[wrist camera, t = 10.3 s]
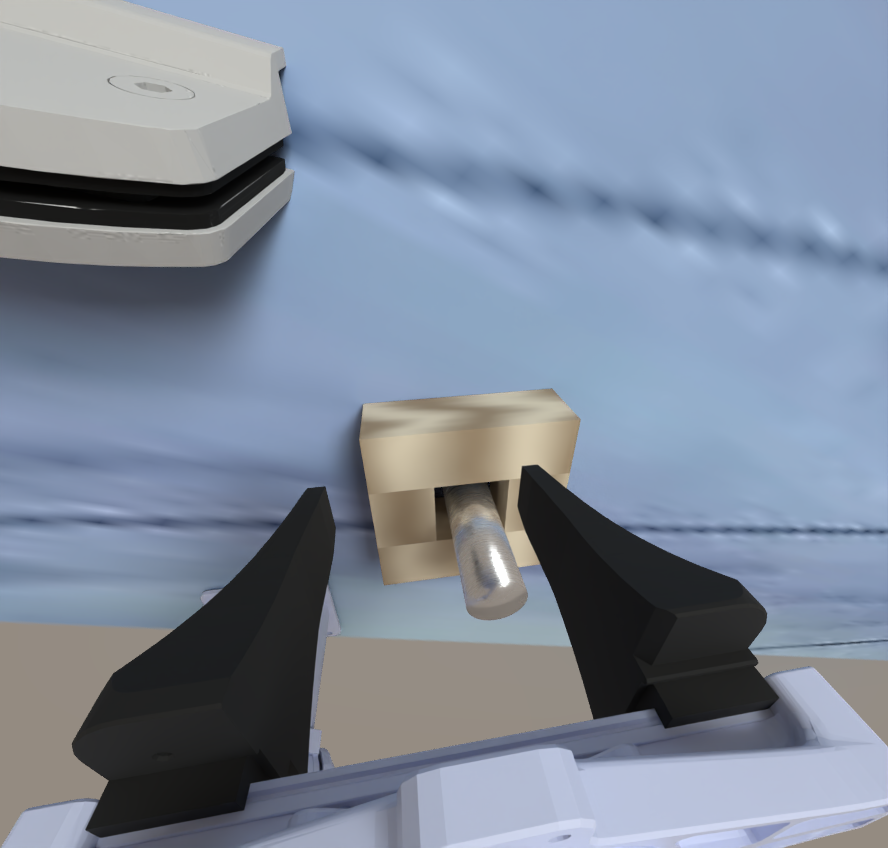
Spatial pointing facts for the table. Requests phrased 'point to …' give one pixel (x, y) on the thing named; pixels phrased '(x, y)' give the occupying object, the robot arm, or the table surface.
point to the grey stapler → (135, 136)
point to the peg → (483, 553)
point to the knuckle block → (456, 469)
